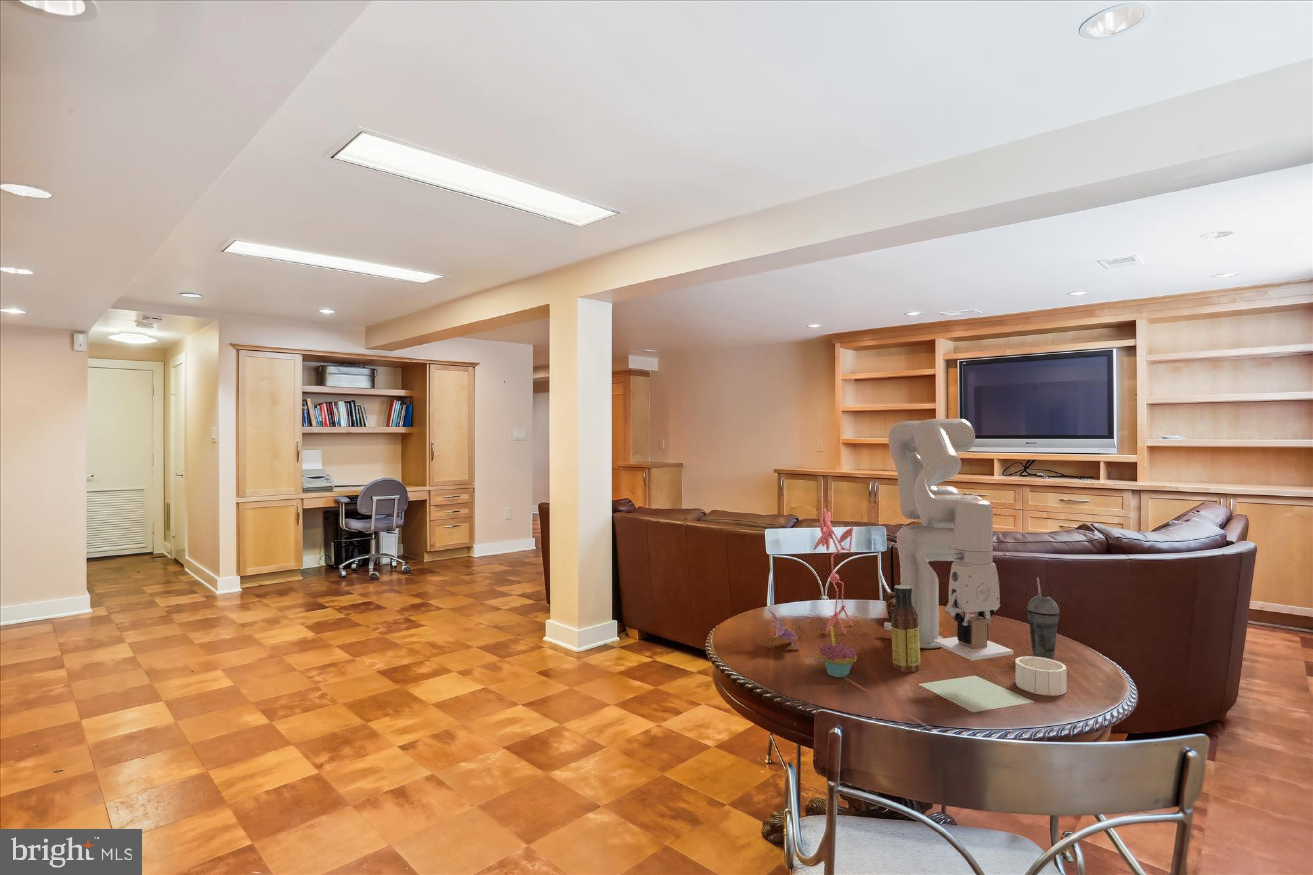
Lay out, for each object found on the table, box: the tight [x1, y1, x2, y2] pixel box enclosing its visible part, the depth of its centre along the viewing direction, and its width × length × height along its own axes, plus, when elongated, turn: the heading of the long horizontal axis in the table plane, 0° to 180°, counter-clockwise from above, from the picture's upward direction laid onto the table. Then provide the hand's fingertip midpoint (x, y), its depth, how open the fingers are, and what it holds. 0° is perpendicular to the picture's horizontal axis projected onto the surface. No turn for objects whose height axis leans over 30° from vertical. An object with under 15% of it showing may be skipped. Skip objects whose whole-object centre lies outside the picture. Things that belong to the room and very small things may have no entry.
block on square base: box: [934, 613, 1014, 661], centre depth 143 cm, size 11×11×7 cm
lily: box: [767, 608, 800, 651], centre depth 174 cm, size 12×12×10 cm
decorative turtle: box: [884, 591, 895, 621], centre depth 199 cm, size 10×15×8 cm, turn 27°
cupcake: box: [819, 624, 858, 678], centre depth 155 cm, size 9×8×12 cm
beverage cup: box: [1026, 577, 1061, 660], centre depth 166 cm, size 7×7×20 cm
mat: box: [918, 675, 1035, 713], centre depth 142 cm, size 16×16×1 cm
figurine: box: [807, 507, 858, 635], centre depth 194 cm, size 15×26×35 cm, turn 152°
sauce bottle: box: [890, 584, 921, 673], centre depth 158 cm, size 6×6×20 cm
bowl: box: [1015, 655, 1068, 697], centre depth 145 cm, size 10×10×6 cm
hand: (972, 639), depth 143 cm, fingers closed on block on square base, 4 cm apart
